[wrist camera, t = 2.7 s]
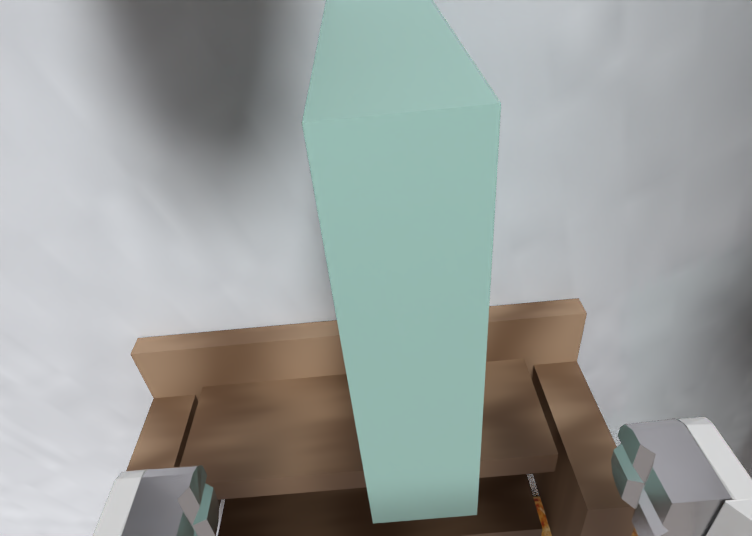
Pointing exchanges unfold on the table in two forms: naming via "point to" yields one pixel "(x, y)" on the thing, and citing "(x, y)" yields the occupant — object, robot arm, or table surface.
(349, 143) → the door panel
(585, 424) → the wooden shelf
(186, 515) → the robot arm
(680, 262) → the table surface
